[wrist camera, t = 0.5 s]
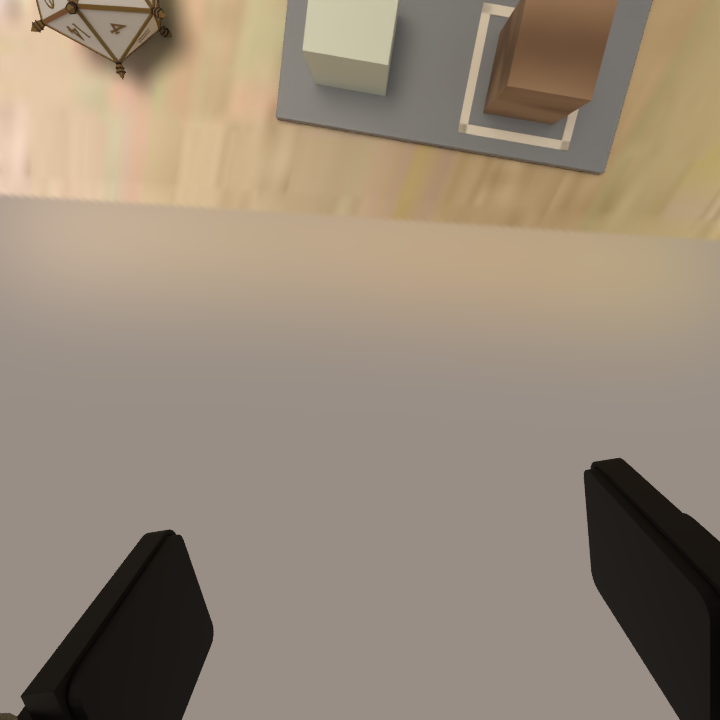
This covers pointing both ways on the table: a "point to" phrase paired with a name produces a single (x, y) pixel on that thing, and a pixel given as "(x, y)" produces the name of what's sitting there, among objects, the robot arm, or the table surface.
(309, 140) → the table surface
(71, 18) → the game die
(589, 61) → the walnut block
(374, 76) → the sage block
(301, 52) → the board
